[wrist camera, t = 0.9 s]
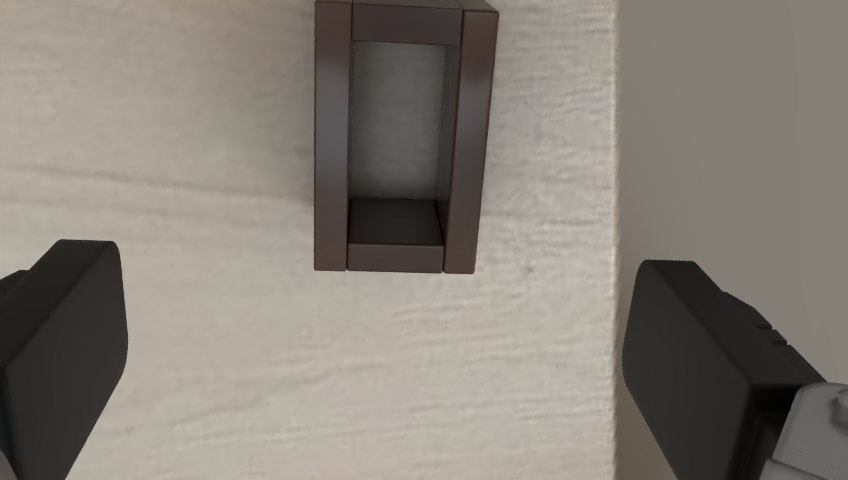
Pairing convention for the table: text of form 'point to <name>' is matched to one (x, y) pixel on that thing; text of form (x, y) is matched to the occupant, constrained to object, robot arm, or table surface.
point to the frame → (458, 150)
